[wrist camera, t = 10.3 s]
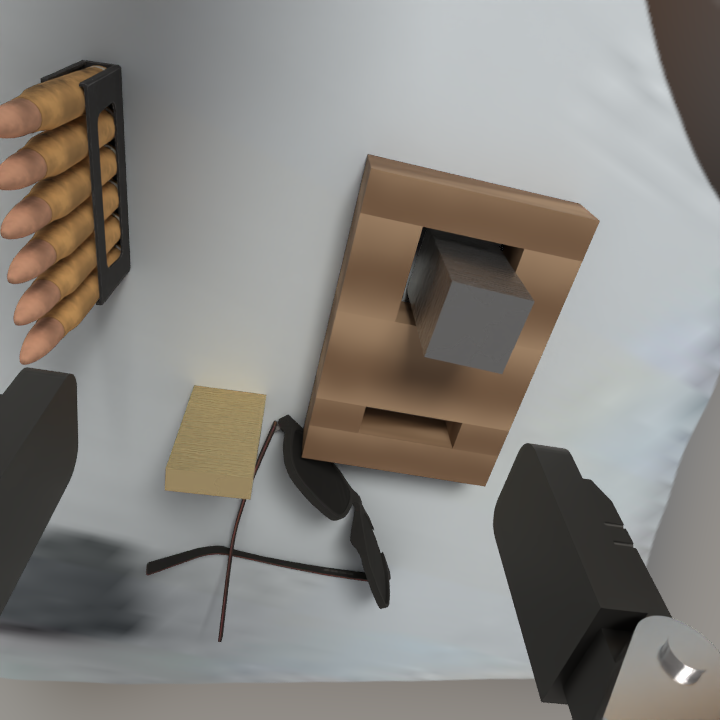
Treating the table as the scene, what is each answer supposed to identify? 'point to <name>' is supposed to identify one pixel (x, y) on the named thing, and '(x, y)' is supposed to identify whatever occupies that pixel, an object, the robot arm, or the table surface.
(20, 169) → the ammunition clip
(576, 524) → the robot arm
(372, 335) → the bore block
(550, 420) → the table surface
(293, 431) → the sunglasses
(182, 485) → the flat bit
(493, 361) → the square bit
